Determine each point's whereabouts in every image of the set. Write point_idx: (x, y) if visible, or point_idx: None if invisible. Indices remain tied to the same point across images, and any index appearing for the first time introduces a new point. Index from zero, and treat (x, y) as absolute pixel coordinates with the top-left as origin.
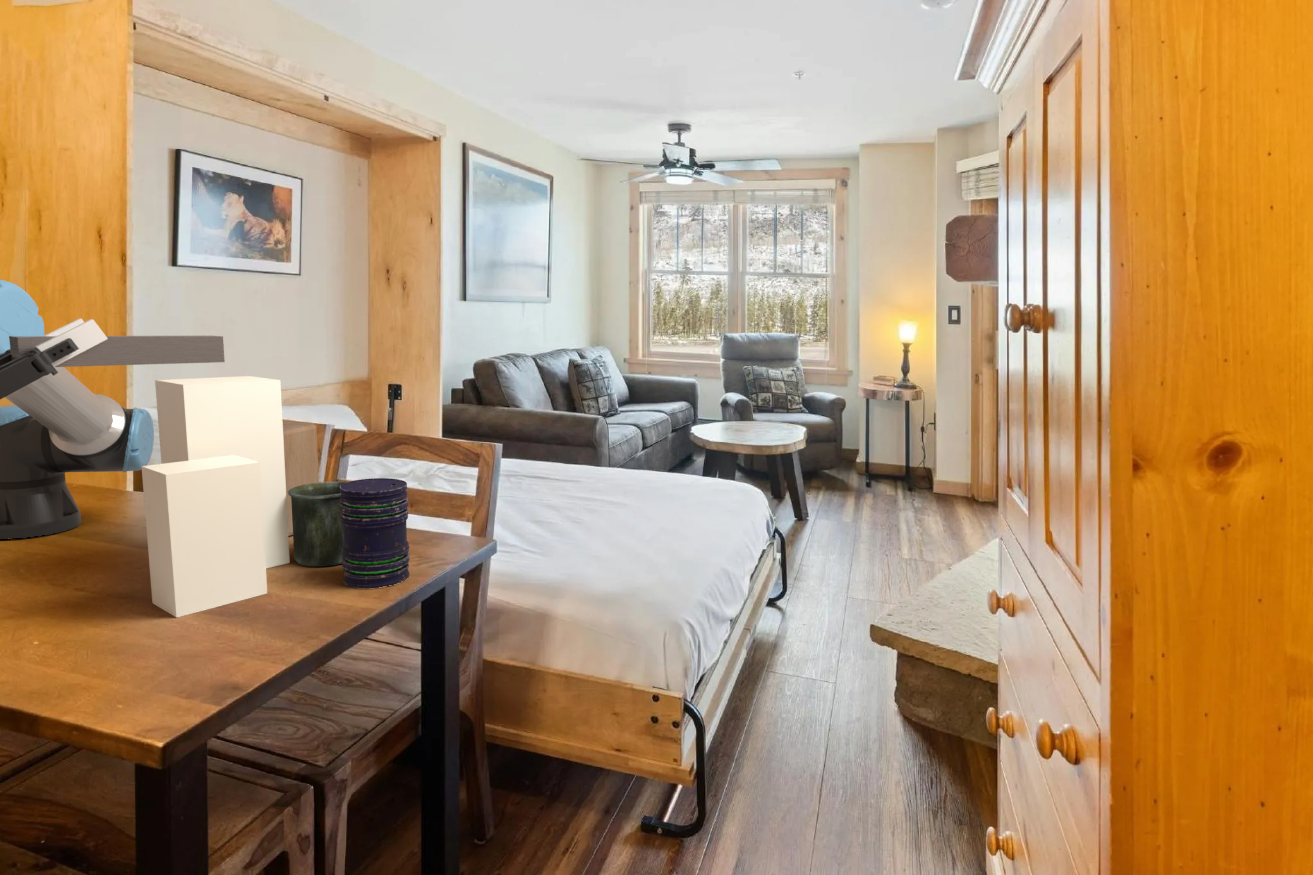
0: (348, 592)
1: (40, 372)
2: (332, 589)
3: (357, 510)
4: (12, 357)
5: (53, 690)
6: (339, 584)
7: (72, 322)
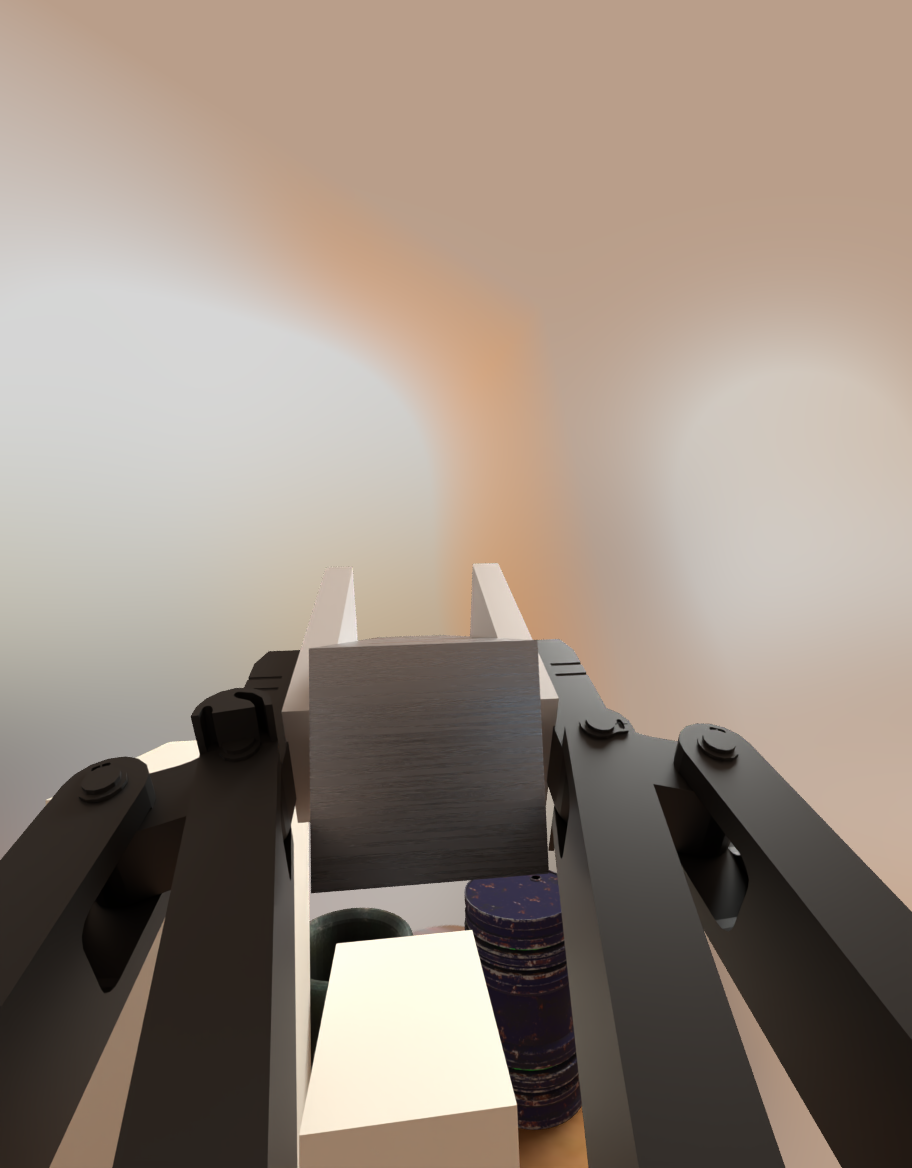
0: (579, 1141)
1: (735, 851)
2: (544, 1158)
3: (563, 950)
4: (347, 814)
5: None
6: (521, 1137)
7: (341, 580)
